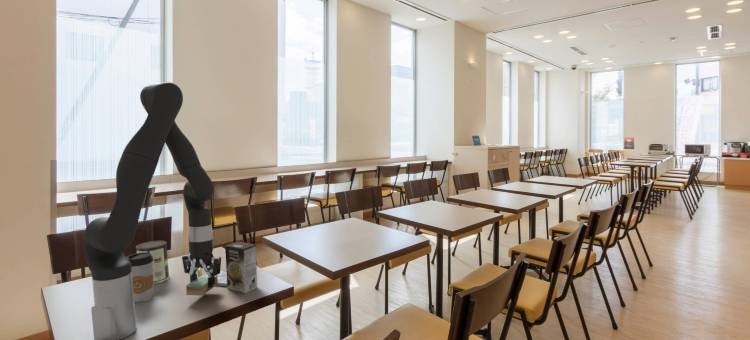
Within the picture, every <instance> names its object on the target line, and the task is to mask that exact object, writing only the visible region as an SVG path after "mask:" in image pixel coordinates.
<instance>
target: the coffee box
mask: <svg viewBox="0 0 750 340" xmlns="http://www.w3.org/2000/svg"><path fill="white" fill-rule="evenodd" d="M224 249H225V250H224V251H225V252H224V253H225V269H226V270H225V271H227V288H226V289H227V290H231V291H234V292H235V291H236V292H239V293H242V294H246V293H249V292H251V291H253V290H254V289H255V290H256V288H258V273H257V272H258V270H257V266H258V265H257V244H254V243H249V242H242V241H236V242H233V243H229V244H226V245H225V246H224Z"/></svg>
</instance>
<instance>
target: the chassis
mask: <svg viewBox="0 0 750 340" xmlns="http://www.w3.org/2000/svg"><path fill="white" fill-rule="evenodd" d="M212 264H213V261H212ZM202 269H203V268H198V270H197V278H198V277H200V276H201V275H203V273H202V272H203V270H202ZM217 278H218V284H217V285H216V286H217V287H227V271H226V270H220V274H218V275H217ZM216 286H215V287H216Z"/></svg>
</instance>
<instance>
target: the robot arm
mask: <svg viewBox="0 0 750 340" xmlns="http://www.w3.org/2000/svg"><path fill="white" fill-rule="evenodd" d="M139 97H140V103H141V104H142V108H143V109H144V110H145V112H146V114H147V117H146V118H145V120H144V123H143V124H142V125H141V127H140V128H139V129H138V130H137V131H136V132H135V134H134V135H133V136H132V137H131V139H130V140H129V141H128V143H126V145H125V147H124V149H123V151H122V154H121V156H120V159H119V161H118V165H117V167H116V173H115V183H116V184H115V186H116V187H115V188H116V194H115V195H116V196H115V201H114V204H113V207H112V209H111V211H110V214H109V216H100V217H97V218H95V219H93V220H91V221H90V222H88V225H87V226H86V228H85V230H84V235H83V240H84V244H83V245H84V251H85V258H86V263H87V267H88V269H89V271H90V273H91V281H92V291H93V302H94V303H93V304H94V305H93V306H91V309H90V310H91V311H90V312H91V321H92V330H93V331H92V332H93V340H121V339H122V340H123V339H125V338H127V337H129V336H131V335H133V334H134V333H135V332H136V331H137V320H136V319H137V318H136V309H135V308H136V307H135V306H136V305H135V302H134V293H133V280H132V268H131V263H130V261H129V260H128V259H127V258H126V257H127V256H126V255H125V253H124V252H125V250H127V249H128V248H129V246H131V244H132V242H133V241H134V238H135V235H136V232H137V228H138V224H139V220H140V216H141V211H142V208H143V204H144V203H145V202H144V201H145V199H146V196H147V193H148V191H149V187H150V185H151V182H152V179H153V176H154V174H155V172H156V169H157V166H158V163H159V162H160V161H159V160H160V157H161V155H162V152H163V149H164V146H165V145H166V146H167V149H168V150H169V153H170V155H171V157H172V161H174V164H175V167H176V170H177V171H178V173H179V175H180V176H182V177H184V178H185V179H186V180H187V181H185V184H184V185H183V190H182V195H183V201H184V203H185V208H186V210H187V212H188V213H187V214H188V215H187V216H188V233H187V235H188V254H185V255H183V256H182V257H181V259H182V265H183V266H182V267H183V271H184V273H185V274H188V275H189V283H191V282H192V281H194V280H195V279H197V278H198V269H199V268H201V269H203V270H204V272H205V273H206V275H208V288H211V287H213V286H214V285H215V276H216V275H218V274H220V271H221V267H222V256H218V257H215V256H214V254H213V251H214V237H213V232H214V231H213V226H212V211H211V208H209V207H208V206H207V205H206V202H207V201H209V200H211V199H212V198H213V196H214V193H215V187H214V183H213V181H212V179H211V178H210V176H209V174H208V173H207V171H206V170H205V168H203V166H202V165H201V162H200V159H199V157H198V154H197V152H196V150H195V148H194V146H193V144H192V142H191V141H190V139H188V138H187V137H186V135H185V133H183V132H182V130H181V129H180V128H179V126H178V124H177V123H176V119H177V116H178V114H179V112H180V111H181V109H182V106H183V102H184V95H183V90H181V88H180V87H179V86H178V85H177V84H175V83H174V82H167V81H165V82H164V81H163V82H156V83H152V84H148V85H145V86H144V87H142V89H141V91H140V94H139ZM212 261H213V264H212ZM213 288H214V287H213Z"/></svg>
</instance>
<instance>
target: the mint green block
mask: <svg viewBox="0 0 750 340" xmlns="http://www.w3.org/2000/svg"><path fill="white" fill-rule="evenodd" d="M217 284H218V278H217V275H216V276H215V285H214V286H213V287H211V288H208V275H207V274H202V275H201V276H200V277H198V276H197V279H195V280H194V281H192V282H191V283H190V282H189V283H187V284H186V286H185V287H186V289H185V290H186V296H204V295H206V294H207V293H208V292H209V291H211V290H212V289H213V288H214V287H216V285H217Z"/></svg>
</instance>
